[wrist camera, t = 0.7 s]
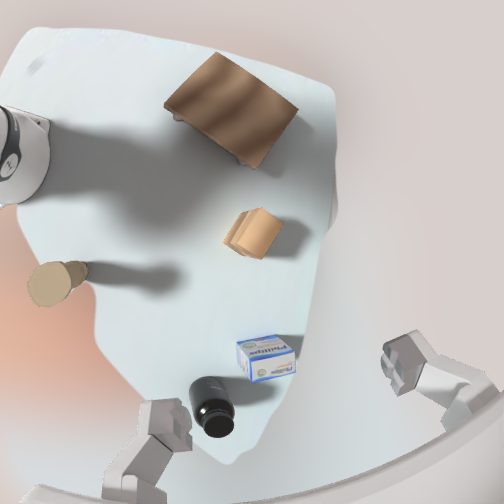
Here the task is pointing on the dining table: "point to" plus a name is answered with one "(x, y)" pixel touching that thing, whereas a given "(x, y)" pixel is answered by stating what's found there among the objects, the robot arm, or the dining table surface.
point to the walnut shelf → (232, 109)
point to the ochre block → (253, 233)
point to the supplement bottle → (212, 407)
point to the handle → (55, 281)
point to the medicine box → (265, 358)
